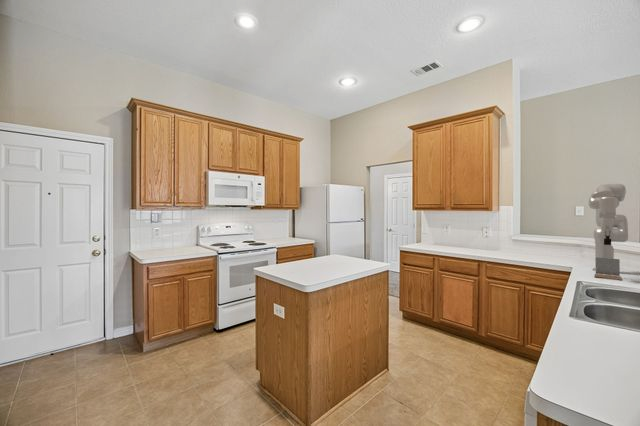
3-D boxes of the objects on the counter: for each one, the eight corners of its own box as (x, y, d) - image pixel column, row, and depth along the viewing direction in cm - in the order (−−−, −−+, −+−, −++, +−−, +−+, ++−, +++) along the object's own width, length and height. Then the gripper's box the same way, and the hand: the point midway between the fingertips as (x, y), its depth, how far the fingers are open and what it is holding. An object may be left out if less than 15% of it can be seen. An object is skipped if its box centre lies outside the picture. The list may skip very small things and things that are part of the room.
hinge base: (594, 276, 190) (594, 273, 190) (620, 278, 182) (620, 276, 182) (594, 278, 181) (594, 276, 181) (621, 282, 172) (621, 279, 172)
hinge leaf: (595, 257, 190) (595, 257, 189) (619, 259, 182) (619, 259, 181) (595, 276, 190) (595, 276, 188) (619, 278, 182) (619, 279, 181)
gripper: (599, 216, 189) (599, 243, 188) (599, 216, 178) (599, 245, 178) (615, 216, 183) (615, 244, 183) (616, 216, 173) (616, 246, 172)
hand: (607, 244), depth 180 cm, fingers closed
